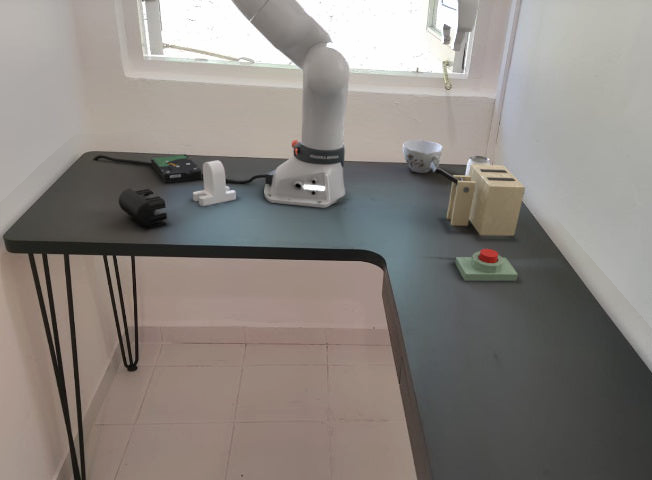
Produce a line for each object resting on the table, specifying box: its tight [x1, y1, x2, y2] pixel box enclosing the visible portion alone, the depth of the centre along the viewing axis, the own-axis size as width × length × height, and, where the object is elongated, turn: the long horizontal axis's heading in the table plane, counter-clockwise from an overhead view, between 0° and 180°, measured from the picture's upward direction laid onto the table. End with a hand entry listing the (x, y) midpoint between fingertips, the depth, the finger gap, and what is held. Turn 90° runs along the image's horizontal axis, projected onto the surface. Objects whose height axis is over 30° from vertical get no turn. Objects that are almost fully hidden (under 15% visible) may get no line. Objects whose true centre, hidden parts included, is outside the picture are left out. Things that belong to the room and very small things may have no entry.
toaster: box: [469, 164, 526, 237], centre depth 152 cm, size 9×16×14 cm, turn 9°
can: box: [464, 155, 491, 176], centre depth 169 cm, size 6×6×12 cm
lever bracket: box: [446, 174, 476, 227], centre depth 151 cm, size 6×8×13 cm
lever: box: [430, 162, 465, 187], centre depth 147 cm, size 11×5×2 cm, turn 99°
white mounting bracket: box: [192, 159, 237, 207], centre depth 153 cm, size 5×10×10 cm, turn 131°
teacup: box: [402, 139, 444, 174], centre depth 187 cm, size 15×12×8 cm
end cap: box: [118, 187, 168, 229], centre depth 138 cm, size 10×7×7 cm
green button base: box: [454, 250, 519, 282], centre depth 133 cm, size 12×8×4 cm, turn 99°
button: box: [479, 248, 499, 263], centre depth 132 cm, size 4×4×2 cm
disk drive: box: [150, 154, 203, 183], centre depth 168 cm, size 10×3×15 cm
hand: (450, 47), depth 143 cm, fingers open, 8 cm apart
